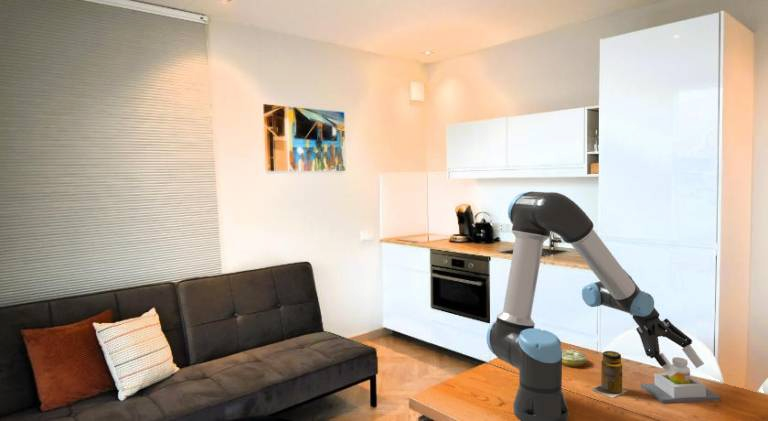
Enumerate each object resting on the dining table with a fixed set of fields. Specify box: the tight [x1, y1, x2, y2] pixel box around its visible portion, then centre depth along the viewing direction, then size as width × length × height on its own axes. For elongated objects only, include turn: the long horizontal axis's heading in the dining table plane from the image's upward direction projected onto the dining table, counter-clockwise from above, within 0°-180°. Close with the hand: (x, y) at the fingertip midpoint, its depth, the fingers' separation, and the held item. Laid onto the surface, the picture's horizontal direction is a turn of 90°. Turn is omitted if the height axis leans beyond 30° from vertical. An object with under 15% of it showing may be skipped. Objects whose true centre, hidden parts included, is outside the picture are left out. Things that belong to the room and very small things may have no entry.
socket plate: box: [640, 372, 722, 404], centre depth 149 cm, size 18×11×4 cm, turn 92°
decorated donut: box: [562, 349, 589, 368], centre depth 176 cm, size 10×11×4 cm
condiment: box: [591, 350, 629, 399], centre depth 152 cm, size 7×8×12 cm
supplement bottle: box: [670, 357, 691, 384], centre depth 148 cm, size 5×5×10 cm
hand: (687, 370), depth 146 cm, fingers open, 13 cm apart
